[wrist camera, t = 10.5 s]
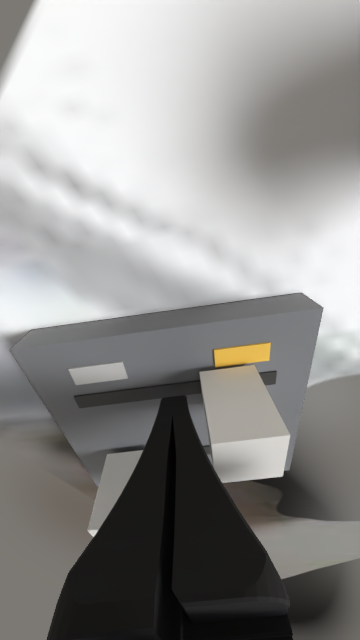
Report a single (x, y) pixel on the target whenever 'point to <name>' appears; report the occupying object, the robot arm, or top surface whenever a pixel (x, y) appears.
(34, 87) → the top surface
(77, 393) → the switch panel
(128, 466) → the inner tab
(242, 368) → the outer tab
